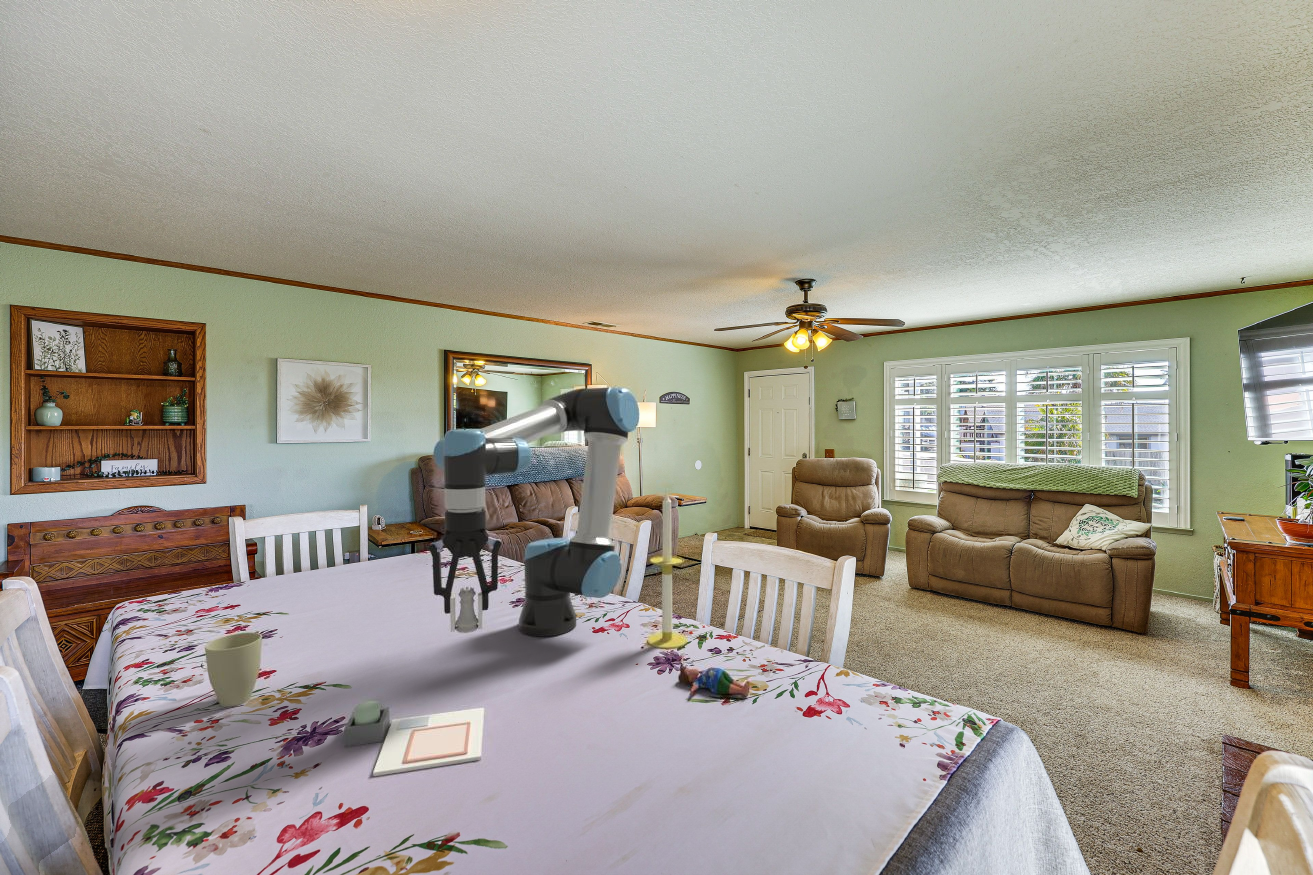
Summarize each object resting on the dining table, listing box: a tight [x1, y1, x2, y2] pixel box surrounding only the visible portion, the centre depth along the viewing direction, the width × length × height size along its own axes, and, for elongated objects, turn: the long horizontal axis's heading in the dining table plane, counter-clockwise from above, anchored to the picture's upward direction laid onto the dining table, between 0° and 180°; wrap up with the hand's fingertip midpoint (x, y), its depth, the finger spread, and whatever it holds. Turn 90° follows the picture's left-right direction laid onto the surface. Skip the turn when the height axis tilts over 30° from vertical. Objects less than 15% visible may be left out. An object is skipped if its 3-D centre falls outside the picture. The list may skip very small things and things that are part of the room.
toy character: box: [677, 665, 751, 697], centre depth 116 cm, size 12×5×15 cm
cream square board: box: [372, 707, 485, 777], centre depth 97 cm, size 16×16×1 cm
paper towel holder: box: [646, 492, 688, 650], centre depth 140 cm, size 10×10×38 cm
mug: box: [204, 631, 263, 708], centre depth 112 cm, size 11×10×12 cm
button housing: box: [343, 706, 391, 747], centre depth 99 cm, size 6×6×3 cm
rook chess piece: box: [455, 586, 479, 634], centre depth 110 cm, size 4×4×8 cm
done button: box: [353, 700, 381, 726], centre depth 99 cm, size 4×4×4 cm
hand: (467, 627), depth 110 cm, fingers closed on rook chess piece, 4 cm apart
